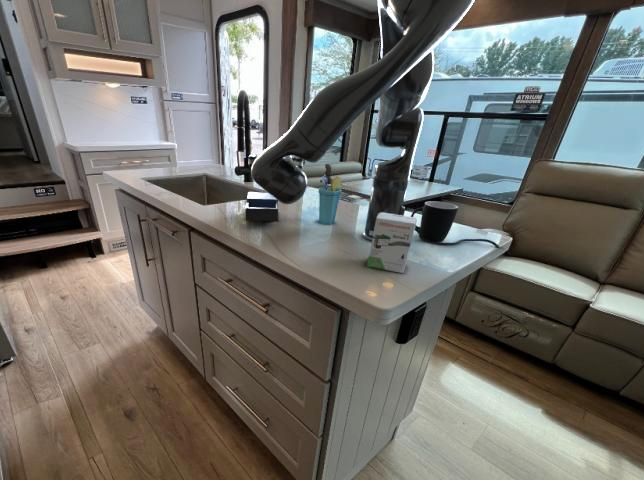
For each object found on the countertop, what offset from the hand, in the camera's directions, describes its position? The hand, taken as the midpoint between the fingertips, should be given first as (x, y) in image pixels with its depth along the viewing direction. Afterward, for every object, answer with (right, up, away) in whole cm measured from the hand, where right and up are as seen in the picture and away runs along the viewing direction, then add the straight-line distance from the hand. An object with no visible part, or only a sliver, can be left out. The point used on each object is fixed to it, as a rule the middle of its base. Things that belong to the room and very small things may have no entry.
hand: (274, 158), depth 87 cm
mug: (+46, -21, +8) cm, 51 cm away
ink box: (+27, -31, -12) cm, 43 cm away
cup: (+16, -14, +18) cm, 28 cm away
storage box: (-5, -13, +17) cm, 22 cm away
